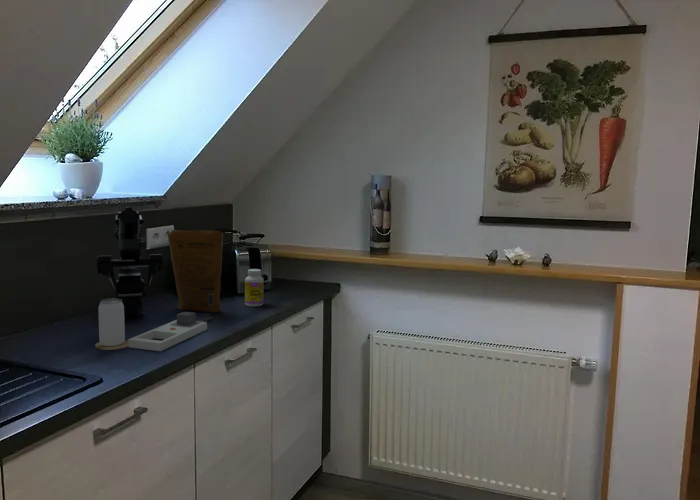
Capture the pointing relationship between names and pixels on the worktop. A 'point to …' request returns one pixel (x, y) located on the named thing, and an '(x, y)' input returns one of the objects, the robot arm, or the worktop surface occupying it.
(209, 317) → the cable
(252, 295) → the supplement bottle
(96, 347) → the cork coaster
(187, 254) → the pancake mix bag
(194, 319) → the block
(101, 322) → the can
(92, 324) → the worktop surface
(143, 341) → the strip dock
